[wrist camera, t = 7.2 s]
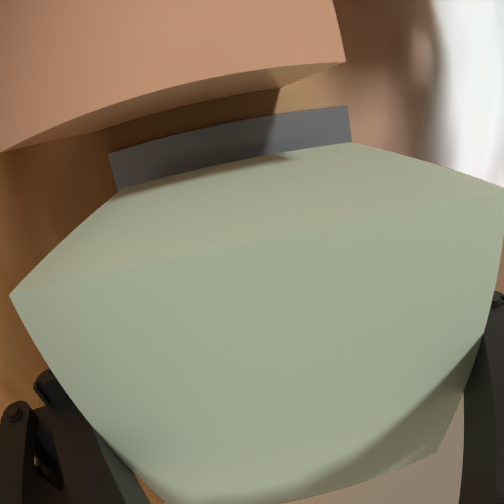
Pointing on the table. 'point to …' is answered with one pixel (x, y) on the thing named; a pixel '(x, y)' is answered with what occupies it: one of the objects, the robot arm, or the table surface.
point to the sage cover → (272, 319)
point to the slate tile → (229, 144)
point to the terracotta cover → (148, 58)
